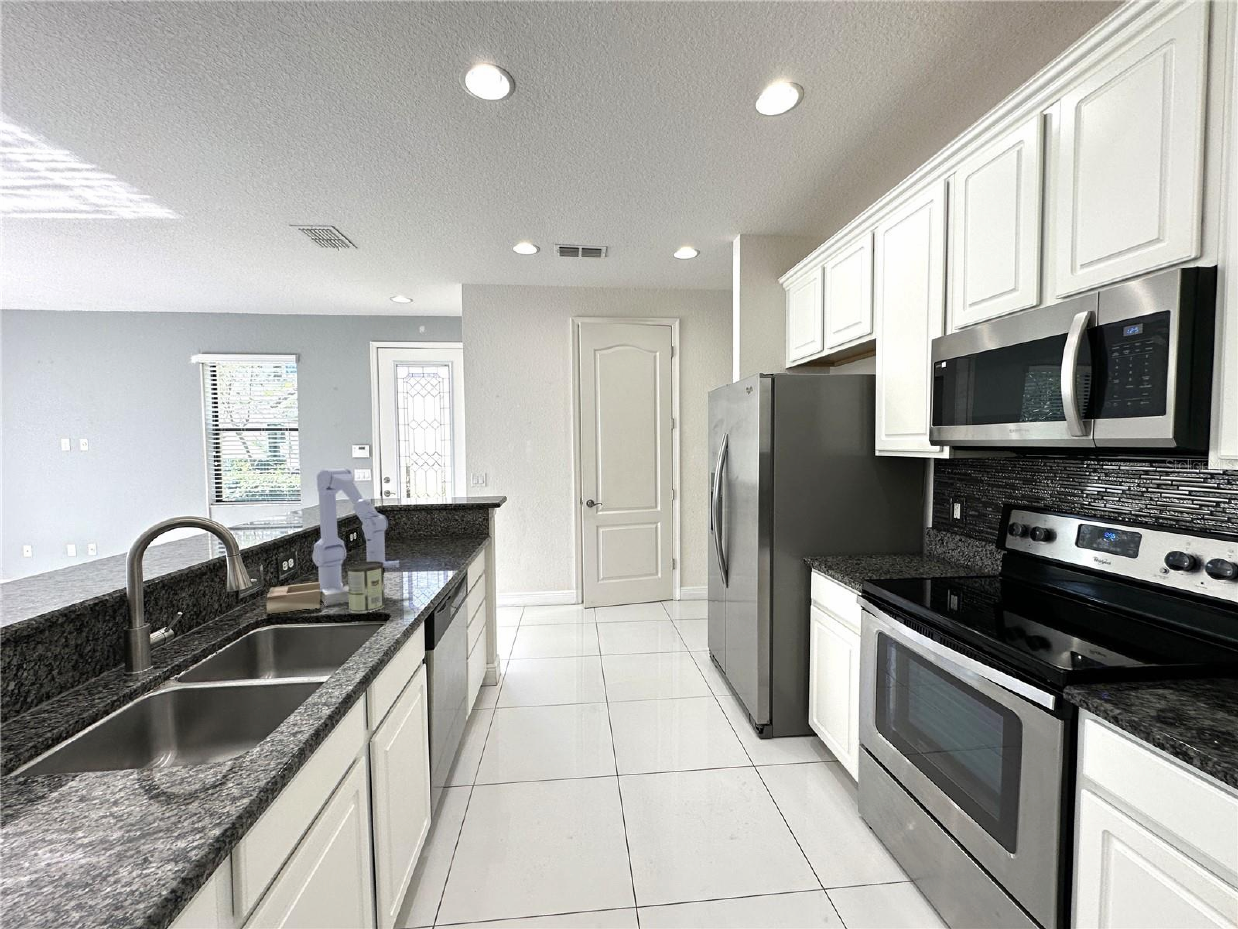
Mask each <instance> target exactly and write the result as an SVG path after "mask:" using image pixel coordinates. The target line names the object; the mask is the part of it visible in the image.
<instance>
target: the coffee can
mask: <svg viewBox="0 0 1238 929" xmlns="http://www.w3.org/2000/svg"><path fill="white" fill-rule="evenodd" d="M346 568H347V569H346V570H347V583H348V584H347V586H348V593H349V602H348V612H349V613H351V614H368V613H367V612H370V611H373V610H377V609H380V610H382V609H384V608H385V592H384V591H385V590H384V589H385V588H384V575H383V562H378V561H369V562H367V561H361V562H354V563H352V564H349V565H347V566H346ZM383 607H384V608H383ZM370 613H371V612H370Z"/></svg>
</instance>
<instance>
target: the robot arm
mask: <svg viewBox="0 0 1238 929" xmlns="http://www.w3.org/2000/svg"><path fill="white" fill-rule="evenodd" d="M354 477H355V476H354V474H353V473H352V471H351V470H350V469H349V468H337V469H335V468H333V469H331V468H329V469H326V468H325V469H321V470H320V471H319V472H318V473H317V475H316V482H317V483H316V485H317V486H316V488H317V493H318V502H319V503H318V505H319V506H318V507H319V521H320V522H319V524H320V527H319V528H320V539H319V540H318V541H316V542H315V543H314V545H313V552H312V555H311V558H312V561H313V563H314V564H315V566H316V567H318V582H320V593H322V590H323V589H330V588H336V587H343V582H342V564H343V563H344V560H345V559H346V558H347V549H346V547H345V541H344V540H342V539H341V538H340V537H339V535H338V518H337V500H336V499H337V498H336V496H337V494H338V493H339V492H340V491H342V492H343V493H344V494H345V495H346V497H347V498H348V499H349V501H350V502H352V504H353V507H352V510H353V511H354V513H355V514H356V515H357V517H358V518H359V520H360V521H361V523H362V525H361V528H362V531H363V533H364V534H363V536H364V539H365V541H366V542H365V543H366V544H365V545H366V548H365V549H366V562H369V561H378V562H383V576H384V574H385V572H386V569H391V568H392V569H393V568H400V561H399V560H394V561H393V560H392V561H389V560H388V561H386V549H385V548H386V545H385V532H386V531H387V529H388V527H389V521H388V519H387V517H386V516H385V515H383V514H381V513H379V512H378V511H377V510H376V508H375V506H374V505H373V504H372V502H371V501H370V500H369V499H364V497H363V496H362V494H361V493H360V491H359V489H358V487H357V486H356V484H355V483H354V481H355V479H354Z"/></svg>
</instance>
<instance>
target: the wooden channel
mask: <svg viewBox="0 0 1238 929" xmlns="http://www.w3.org/2000/svg"><path fill="white" fill-rule="evenodd" d="M320 600H321V592H320V582H319V581H317V582H308V583H300V584H292V585H284V586H283V585H282V586H275V587H270V588H269V591H268V593H267V596H266V614H267V613H278V612H288V611H295V610H302V609H310V610H316V609H315V608H317V609H320V608H321V604H320V602H321V601H320ZM302 611H303V610H302ZM295 612H296V611H295ZM288 613H289V612H288Z"/></svg>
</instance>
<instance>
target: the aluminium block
mask: <svg viewBox="0 0 1238 929" xmlns="http://www.w3.org/2000/svg"><path fill="white" fill-rule="evenodd" d="M322 601H323V602H324V603H323V602H322ZM321 602H322V603H323V604H324V605H325V607H328V606H335V605H339V603H341V604H345V603H344V602H347V603H349V593H348V585H345V586H343V587H336V588H330V589H323V590H322V592H321ZM334 604H335V605H334Z"/></svg>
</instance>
